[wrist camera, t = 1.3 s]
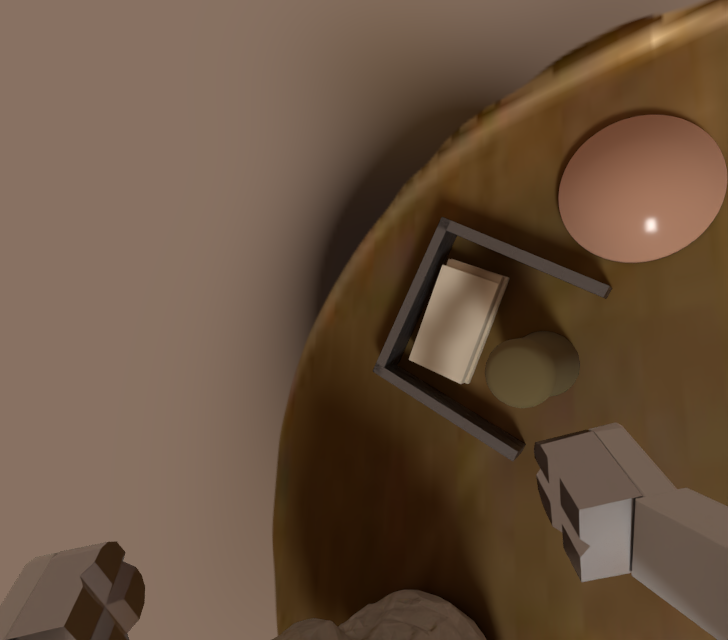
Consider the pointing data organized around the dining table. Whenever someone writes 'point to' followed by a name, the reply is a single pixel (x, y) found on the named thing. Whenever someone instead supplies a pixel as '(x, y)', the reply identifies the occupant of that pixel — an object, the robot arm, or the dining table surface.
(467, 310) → the offcut stack
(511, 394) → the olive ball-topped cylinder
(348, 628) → the ceramic vessel
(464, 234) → the grey u-shaped frame
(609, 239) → the pink round disc
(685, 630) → the dining table surface
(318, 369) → the dining table surface
